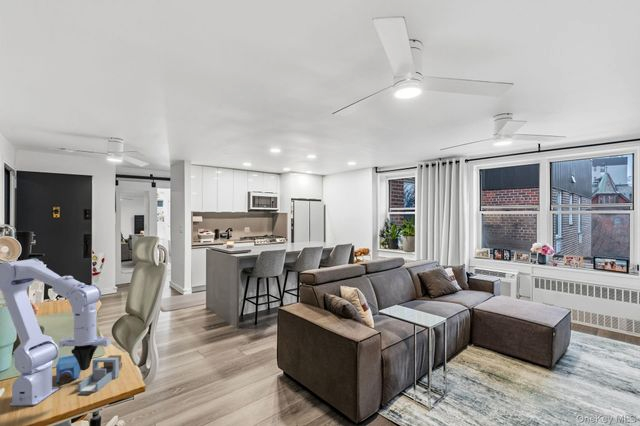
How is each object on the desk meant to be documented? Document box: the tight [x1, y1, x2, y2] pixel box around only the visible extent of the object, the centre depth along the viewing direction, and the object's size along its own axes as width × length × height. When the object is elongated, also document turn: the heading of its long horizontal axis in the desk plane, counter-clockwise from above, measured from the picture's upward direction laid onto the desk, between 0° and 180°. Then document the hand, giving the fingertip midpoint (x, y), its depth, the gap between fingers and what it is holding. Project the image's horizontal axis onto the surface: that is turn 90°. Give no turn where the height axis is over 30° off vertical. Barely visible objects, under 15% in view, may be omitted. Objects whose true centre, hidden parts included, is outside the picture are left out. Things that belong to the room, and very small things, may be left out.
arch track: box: [77, 357, 121, 396], centre depth 110 cm, size 16×8×7 cm, turn 2°
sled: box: [93, 361, 123, 382], centre depth 115 cm, size 10×4×4 cm, turn 2°
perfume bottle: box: [55, 354, 82, 384], centre depth 112 cm, size 6×6×12 cm
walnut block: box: [102, 354, 122, 369], centre depth 117 cm, size 4×4×4 cm
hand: (85, 368), depth 99 cm, fingers closed
